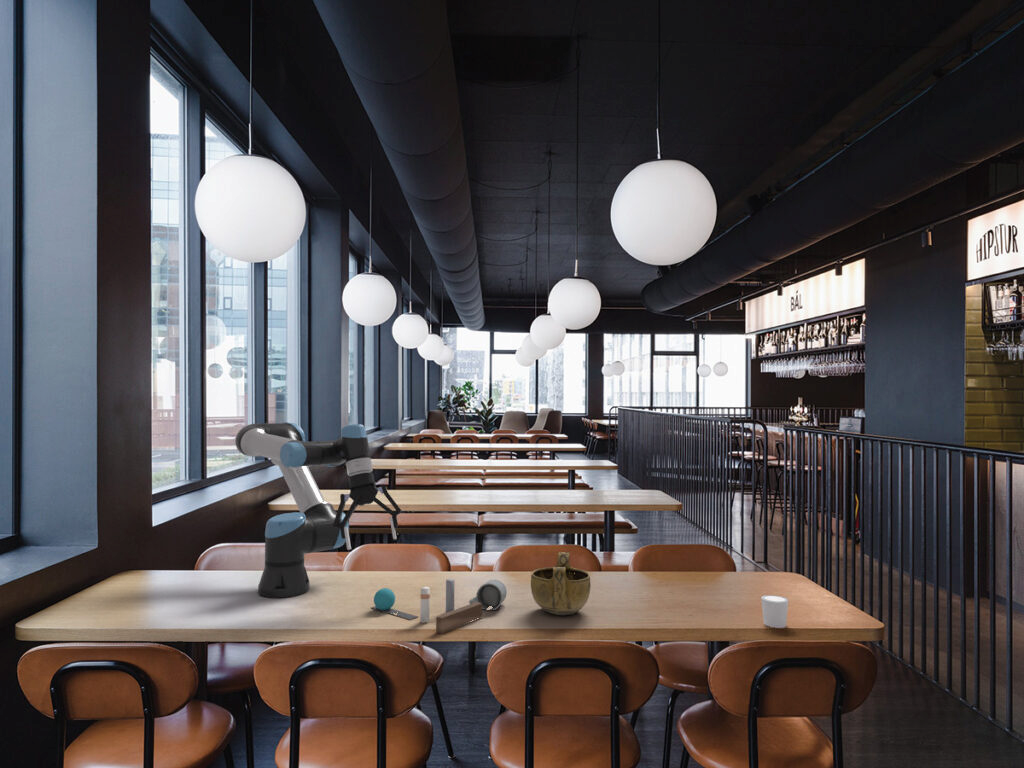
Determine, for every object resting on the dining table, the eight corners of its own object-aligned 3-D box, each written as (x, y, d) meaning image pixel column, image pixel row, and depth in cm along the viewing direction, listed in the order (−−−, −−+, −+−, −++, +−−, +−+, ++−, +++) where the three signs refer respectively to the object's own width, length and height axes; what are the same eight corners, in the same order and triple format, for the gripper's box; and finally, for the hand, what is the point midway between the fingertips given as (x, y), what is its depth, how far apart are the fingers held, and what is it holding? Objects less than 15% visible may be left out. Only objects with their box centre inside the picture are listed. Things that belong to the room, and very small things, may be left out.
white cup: (756, 620, 179) (756, 594, 179) (780, 620, 180) (780, 594, 180) (768, 629, 172) (768, 602, 172) (793, 628, 173) (793, 602, 173)
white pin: (418, 622, 174) (418, 588, 175) (424, 619, 176) (425, 586, 177) (424, 623, 173) (425, 589, 173) (431, 621, 175) (431, 587, 175)
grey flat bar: (370, 608, 186) (370, 607, 186) (378, 605, 188) (378, 605, 188) (410, 620, 176) (410, 619, 176) (418, 617, 178) (418, 616, 178)
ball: (369, 610, 184) (369, 589, 184) (385, 605, 188) (385, 584, 189) (383, 614, 180) (383, 592, 180) (399, 609, 185) (399, 588, 185)
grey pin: (443, 612, 182) (444, 580, 183) (449, 610, 184) (450, 578, 185) (450, 614, 181) (450, 581, 181) (455, 612, 183) (456, 580, 183)
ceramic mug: (507, 603, 192) (507, 577, 192) (501, 612, 184) (501, 584, 184) (473, 601, 194) (473, 575, 194) (465, 609, 186) (465, 582, 186)
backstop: (436, 632, 167) (436, 616, 167) (476, 616, 179) (476, 601, 180) (441, 634, 165) (442, 618, 166) (481, 618, 178) (482, 603, 178)
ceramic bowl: (589, 627, 172) (589, 570, 172) (525, 623, 174) (526, 567, 175) (591, 602, 194) (591, 551, 194) (534, 598, 196) (535, 549, 197)
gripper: (316, 481, 193) (327, 553, 188) (400, 464, 197) (413, 534, 192) (321, 484, 200) (332, 553, 195) (402, 467, 204) (414, 535, 199)
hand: (372, 544), depth 193 cm, fingers open, 13 cm apart
